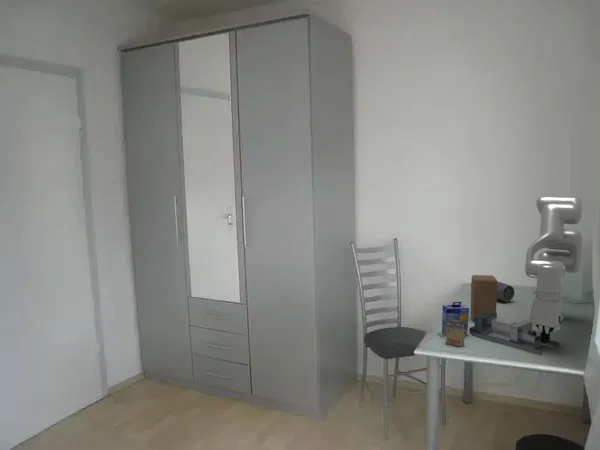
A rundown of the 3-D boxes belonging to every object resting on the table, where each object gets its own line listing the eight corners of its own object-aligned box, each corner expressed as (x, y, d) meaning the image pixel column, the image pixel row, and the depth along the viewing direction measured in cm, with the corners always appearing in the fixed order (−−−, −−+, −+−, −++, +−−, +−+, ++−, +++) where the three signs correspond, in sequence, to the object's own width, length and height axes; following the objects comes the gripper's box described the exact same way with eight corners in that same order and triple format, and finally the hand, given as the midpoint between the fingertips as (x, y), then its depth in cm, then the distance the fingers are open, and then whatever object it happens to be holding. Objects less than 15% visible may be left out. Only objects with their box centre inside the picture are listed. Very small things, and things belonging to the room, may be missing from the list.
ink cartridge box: (445, 337, 210) (446, 303, 208) (440, 332, 215) (441, 299, 213) (468, 336, 210) (469, 302, 209) (463, 331, 216) (464, 298, 214)
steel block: (497, 333, 214) (498, 317, 213) (515, 338, 207) (516, 322, 207) (491, 336, 210) (491, 319, 210) (509, 341, 204) (510, 324, 203)
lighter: (444, 343, 202) (445, 319, 200) (447, 341, 205) (448, 317, 204) (462, 347, 198) (463, 322, 197) (465, 344, 201) (466, 319, 200)
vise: (487, 326, 223) (487, 309, 222) (560, 345, 198) (561, 326, 198) (466, 334, 213) (467, 316, 212) (540, 355, 189) (541, 334, 188)
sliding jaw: (524, 337, 208) (525, 319, 207) (546, 343, 201) (547, 324, 200) (509, 343, 200) (510, 325, 199) (531, 350, 193) (532, 331, 192)
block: (496, 323, 227) (497, 279, 225) (472, 322, 229) (474, 279, 227) (492, 316, 237) (493, 275, 235) (470, 315, 239) (471, 274, 237)
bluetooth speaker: (469, 294, 279) (470, 276, 278) (482, 292, 283) (482, 275, 282) (501, 304, 258) (502, 285, 257) (514, 302, 262) (515, 283, 261)
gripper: (523, 293, 196) (521, 339, 199) (562, 301, 185) (560, 349, 187) (532, 290, 201) (530, 335, 203) (571, 298, 190) (569, 345, 192)
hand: (544, 342), depth 195 cm, fingers closed
